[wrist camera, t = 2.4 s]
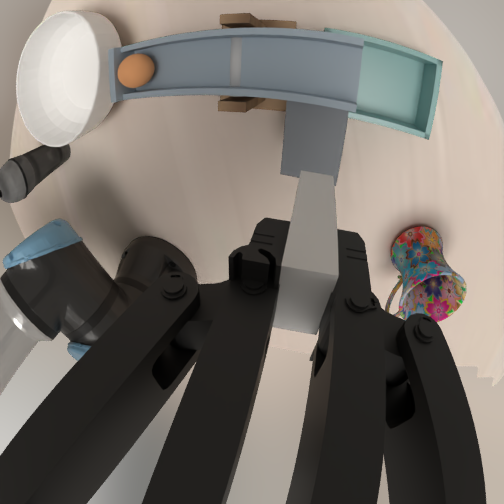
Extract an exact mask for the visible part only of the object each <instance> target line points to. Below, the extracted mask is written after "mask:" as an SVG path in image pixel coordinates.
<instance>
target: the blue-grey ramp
mask: <svg viewBox="0 0 504 504" xmlns="http://www.w3.org/2000/svg"><path fill="white" fill-rule="evenodd" d="M363 47H364V39H363V38H358V37H353V36H348V35H342V34H336V33H330V32H322V31H314V30H304V29H291V28H228V29H215V30H205V31H197V32H189V33H183V34H176V35H171V36H165V37H160V38H156V39H151V40H147V41H143V42H139V43H135V44H131V45H127V46H124V47H119V48H112V49H109V50H108V64H109V83H110V96H111V103H113V102H118V101H121V100H127V99H136V98H146V97H159V96H178V95H228V96H232V97H243V96H247V97H260V98H271V99H280V100H287V103H286V116H285V128H284V140H283V151H282V162H281V173H280V174H283V175H288V176H293V177H298V178H300V173H301V171H308V172H313V173H319V174H325V175H330V176H333V178H334V186H336V182H337V177H338V172H339V167H340V161H341V156H342V150H343V145H344V139H345V133H346V126H347V120H348V113H349V111H351V112H355V113H356V108H357V103H356V102H357V95H358V87H359V79H360V71H361V61H362V51H363ZM137 53H140V54H145V55H147V56H149V57H150V58H151V59H152V61H153V63H154V67H155V69H154V74H153V76H152V78H151V79H150V80H149V81H148V82H147V83H146V84H145V85H143V86H141V87H137V88H129V87H126V86H124V85H123V84H122V83H121V82H120V81H119V79H118V68H119V65H120V64H121V62H122V61H123V60H124V59H125V58H126V57H128V56H130V55H132V54H137Z"/></svg>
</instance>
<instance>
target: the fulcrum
mask: <svg viewBox="0 0 504 504" xmlns="http://www.w3.org/2000/svg"><path fill="white" fill-rule="evenodd" d="M220 24H221V25H222V29H228V28H291V29H296V22H294V21H280V20H258V19H257V18H255V17H254V16H253V15H251V14H250V13H241V14H222V15H220ZM286 103H287V100H280V99H271V98H260V97H247V96H243V97H232V96H228V95H220V101H218V111H228V112H247V111H249V110H250V109H252V108H254V109H266V110H277V111H286Z"/></svg>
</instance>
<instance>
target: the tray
mask: <svg viewBox="0 0 504 504" xmlns="http://www.w3.org/2000/svg"><path fill="white" fill-rule="evenodd" d="M324 32H330V33H336V34H342V35H348V36H353V37H358V38H363V39H364V47H363V51H362V61H361V71H360V79H359V87H358V95H357V102H356V103H357V108H356V113H355V112H351V111H349V113H348V118H352V119H356V120H361V121H365V122H369V123H373V124H377V125H381V126H385V127H389V128H392V129H396V130H399V131H403V132H406V133H409V134H413V135H416V136H419V137H422V138H425V139H428V140H429V137H430V133H431V129H432V124H433V120H434V115H435V110H436V104H437V99H438V93H439V86H440V79H441V72H442V63H443V61H441V60H438V59H436V58H434V57H431V56H429V55H426V54H424V53H421V52H418V51H416V50H413V49H410V48H407V47H404V46H401V45H398V44H395V43H392V42H388V41H385V40H381V39H377V38H374V37H370V36H366V35H361V34H357V33H352V32H347V31H342V30H337V29H331V28H325V29H324Z"/></svg>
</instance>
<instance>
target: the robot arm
mask: <svg viewBox="0 0 504 504" xmlns="http://www.w3.org/2000/svg"><path fill="white" fill-rule="evenodd" d="M82 240H83V239H82V238H81V237H79V236H78V235H77V233H76V232H75V231H74V230H73V228H72V227H71V226H70V225H69V223H68V222H67V221H65V220H63V219H55V220H53V221H51V222H49V223H48V224H46V225H45V226H43V227H42V228H40V229H39V230H37V231H36V232H34V233H33V234H32V235H30V236H29V237H28V238H26V239H25V240H24V241H23V242H21V243H20V244H19V245H18V246H17V247H15V248H14V249H13V250H12V251H11V252H10V253H9V254H8V255H6V256H5V258H4V259H3V264H4V267H5V269H7V270H6V272H5V273H4V274H3V275H2V277H1V278H0V395H1V393H2V392H3V390H4V389H5V387H6V386H7V384H8V383H9V381H10V380H11V378H12V377H13V375H14V374H15V372H16V371H17V369H18V368H19V367H20V365H21V364H22V362H23V361H24V360H25V358H26V357H27V356H28V354H29V353H30V352H31V350H32V349H33V348H34V346H35V345H36V344H37V342H38V341H52V340H53V339H54V338H55V337H56V336H57V334H58V333H59V332H60V331H61V332H62V333H63V334H64V335H65V336H66V337H67V338H69V340H70V342H69V343H68V348H67V350H68V352H69V354H71V355H72V357H73V358H75V359H76V360H77V361H78V362H77V363H76V364H75V365H74V366H73V367H72V368H71V369H70V371H69V372H68V373H67V374H66V375H65V376H64V377H63V378H62V380H61V381H60V382H59V383H58V384H57V385H56V386H55V388H54V389H53V390H52V391H51V393H50V394H49V395H48V396H47V397H46V398H45V399H44V401H43V402H42V403H41V404H40V405H39V407H38V408H37V409H36V410H35V412H34V413H33V414H32V415H31V416H30V418H29V419H28V420H27V421H26V423H25V424H24V425H23V426H22V428H21V429H20V430H19V432H18V433H17V434H16V436H15V437H14V438H13V439H12V441H11V442H10V443H9V445H8V446H7V447H6V449H5V450H4V451H3V453H2V454H1V455H0V504H87V503H88V501H89V500H90V499H91V498H92V496H93V495H94V494H95V493H96V491H97V490H98V489H99V488H100V486H101V485H102V484H103V483H104V482H105V480H106V479H107V478H108V476H109V475H110V474H111V473H112V471H113V470H114V469H115V468H116V466H117V465H118V464H119V462H120V461H121V460H122V459H123V457H124V456H125V455H126V454H127V452H128V451H129V450H130V449H131V447H132V446H133V445H134V443H135V442H136V441H137V439H138V438H139V437H140V436H141V434H142V433H143V432H144V430H145V429H146V428H147V426H148V425H149V424H150V422H151V421H152V420H153V419H154V417H155V416H156V415H157V413H158V412H159V411H160V409H161V408H162V407H163V405H164V404H165V403H166V401H167V400H168V399H169V397H170V396H171V395H172V393H173V392H174V391H175V389H176V388H177V387H178V385H179V384H180V383H181V381H182V380H183V379H184V377H185V376H186V375H187V373H188V372H189V370H190V369H191V368H192V366H193V365H194V364H195V362H196V364H195V367H194V369H193V372H192V374H191V377H190V379H189V382H188V384H187V387H186V389H185V392H184V395H183V397H182V400H181V402H180V405H179V407H178V410H177V412H176V415H175V418H174V420H173V423H172V425H171V428H170V430H169V433H168V436H167V439H166V441H165V444H164V446H163V449H162V451H161V454H160V457H159V459H158V462H157V465H156V467H155V470H154V472H153V475H152V478H151V481H150V483H149V486H148V489H147V491H146V494H145V497H144V499H143V502H142V504H226V501H227V498H228V495H229V492H230V489H231V485H232V482H233V479H234V475H235V472H236V468H237V465H238V461H239V458H240V454H241V451H242V447H243V444H244V440H245V437H246V433H247V429H248V425H249V422H250V418H251V414H252V410H253V406H254V403H255V399H256V395H257V391H258V387H259V383H260V379H261V375H262V371H263V366H264V362H265V358H266V354H267V349H268V345H269V341H270V335H271V330H272V327H275V328H280V329H286V330H291V331H297V332H303V333H309V334H315V335H317V332H318V330H319V337H318V341H317V343H316V346H315V348H314V350H313V352H312V355H311V357H310V361H313V364H312V372H311V379H310V386H309V393H308V399H307V405H306V411H305V418H304V423H303V428H302V434H301V439H300V444H299V449H298V454H297V458H296V463H295V468H294V472H293V476H292V481H291V485H290V489H289V493H288V497H287V501H286V504H377V499H378V493H379V487H380V479H381V471H382V463H383V453H384V460H385V467H386V474H387V482H388V492H389V502H390V504H486V492H485V482H484V474H483V467H482V461H481V454H480V449H479V444H478V439H477V435H476V431H475V427H474V422H473V419H472V415H471V411H470V407H469V404H468V401H467V397H466V394H465V391H464V388H463V385H462V382H461V379H460V376H459V373H458V370H457V367H456V365H455V362H454V359H453V357H452V354H451V352H450V349H449V347H448V344H447V342H446V340H445V337H444V335H443V333H442V330H441V328H440V327H439V325H438V324H437V322H436V321H435V320H434V319H432V318H431V317H430V316H427V315H425V314H422V313H415V314H412V315H410V316H409V317H408V318H407V319H406V320H403V319H401V318H398V317H396V316H394V315H392V314H390V313H388V312H386V311H384V310H383V309H382V308H381V306H380V303H379V300H378V298H377V297H376V296H375V295H374V293H372V292H371V284H370V276H369V269H368V262H367V255H366V249H365V243H364V241H363V240H362V238H361V237H360V235H359V234H358V233H355V232H350V231H345V230H339V229H337V217H336V202H335V189H334V178H333V176H330V175H325V174H319V173H313V172H308V171H301V173H300V178H299V183H298V188H297V193H296V198H295V203H294V208H293V213H292V218H291V222H289V221H283V220H277V219H271V218H264V219H263V220H262V221H260V222H259V223H258V224H257V226H256V228H255V231H254V234H253V236H252V238H251V242H250V243H249V245H246V246H241V247H239V248H237V249H236V250H234V251H233V252H232V253H231V254H230V256H229V280H227V281H224V282H221V283H215V284H198V283H197V277H196V273H195V270H194V268H193V266H192V264H191V263H190V261H189V260H188V259H187V258H186V257H185V255H184V254H183V253H182V252H180V251H179V250H178V249H177V248H175V247H174V246H173V245H171V244H169V243H167V242H165V241H163V240H161V239H158V238H154V237H140V238H137V239H135V240H133V241H132V242H131V243H130V245H129V246H128V247H127V248H126V249H125V251H124V253H123V255H122V259H121V261H120V264H119V267H118V270H117V274H116V277H115V279H114V280H113V279H112V278H111V277H110V276H109V274H108V273H107V272H106V271H105V270H104V268H103V267H102V266H101V265H100V264H99V262H98V261H97V260H96V259H95V257H94V256H93V255H92V253H91V252H90V251H89V250H88V248H87V247H86V246H85V244H84V243H83V241H82Z"/></svg>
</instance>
